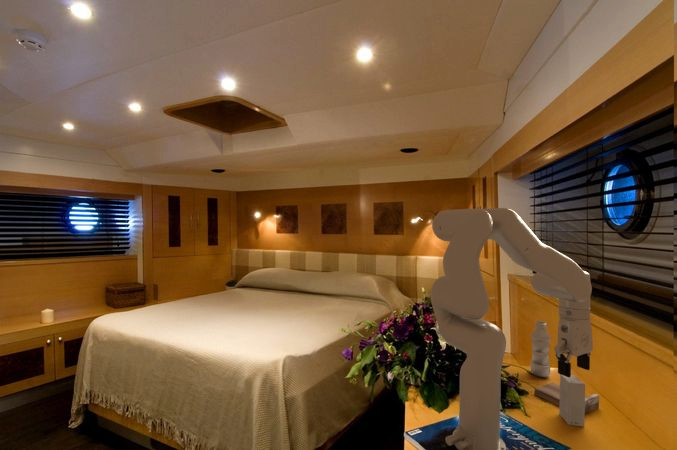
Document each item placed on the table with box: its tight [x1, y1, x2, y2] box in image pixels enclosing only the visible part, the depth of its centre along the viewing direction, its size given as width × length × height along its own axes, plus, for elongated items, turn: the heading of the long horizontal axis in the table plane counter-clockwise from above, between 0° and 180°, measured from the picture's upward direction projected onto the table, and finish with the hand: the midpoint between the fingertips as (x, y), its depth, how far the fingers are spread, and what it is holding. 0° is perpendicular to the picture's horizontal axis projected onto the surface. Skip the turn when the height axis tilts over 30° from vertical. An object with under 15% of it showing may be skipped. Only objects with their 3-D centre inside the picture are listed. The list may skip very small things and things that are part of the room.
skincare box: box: [558, 374, 586, 427], centre depth 98 cm, size 6×4×12 cm
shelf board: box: [534, 382, 600, 415], centre depth 108 cm, size 10×14×4 cm
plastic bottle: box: [529, 320, 552, 378], centre depth 127 cm, size 6×7×20 cm
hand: (573, 371), depth 98 cm, fingers open, 9 cm apart
